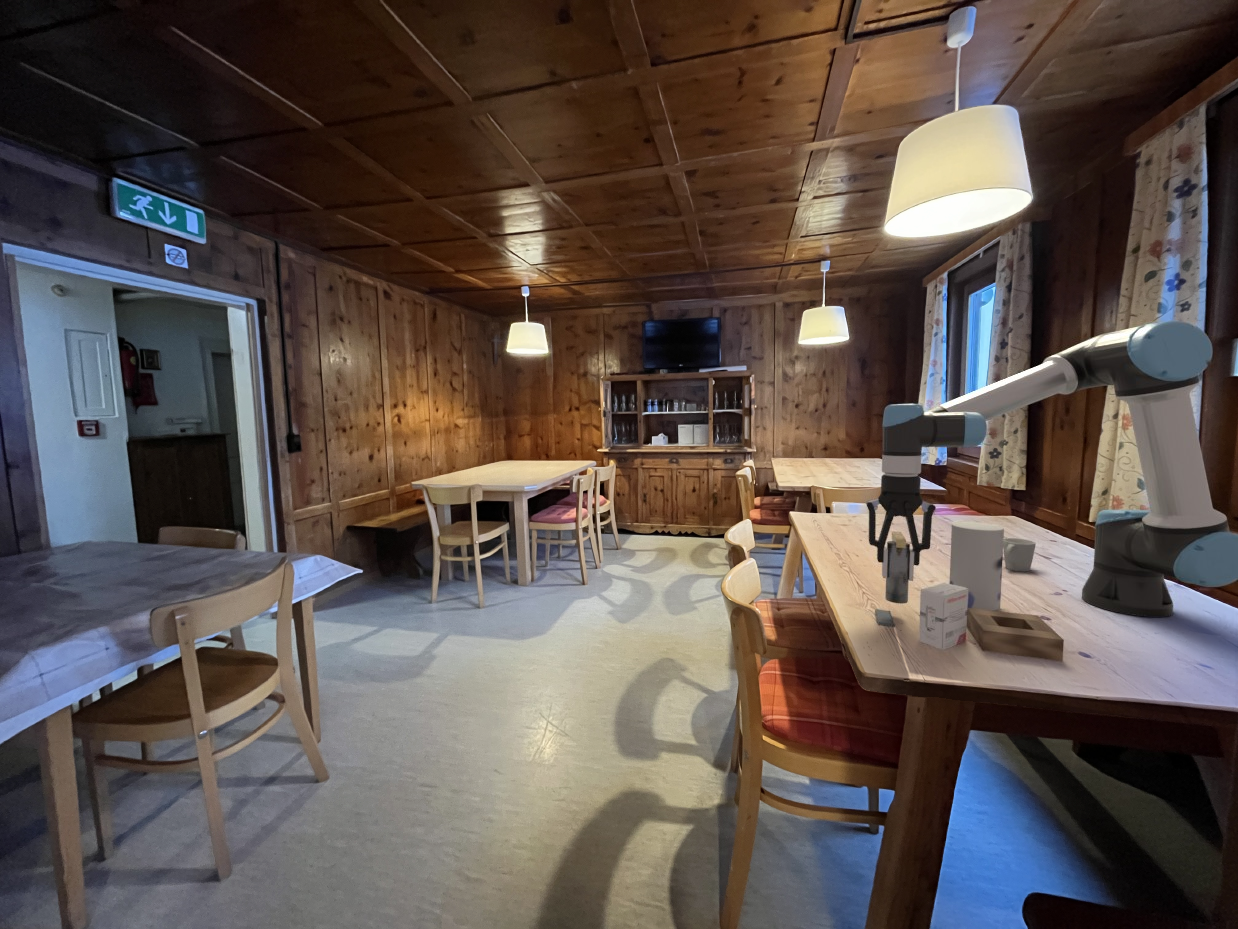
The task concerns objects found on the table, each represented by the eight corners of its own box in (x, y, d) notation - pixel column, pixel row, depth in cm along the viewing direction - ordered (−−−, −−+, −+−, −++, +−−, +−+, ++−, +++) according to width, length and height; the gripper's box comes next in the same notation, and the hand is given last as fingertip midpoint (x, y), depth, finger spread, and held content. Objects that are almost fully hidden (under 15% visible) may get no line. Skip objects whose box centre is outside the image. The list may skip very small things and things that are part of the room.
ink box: (942, 635, 103) (944, 580, 102) (967, 645, 99) (970, 587, 98) (917, 645, 99) (919, 588, 98) (942, 655, 95) (945, 595, 94)
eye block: (1036, 639, 100) (1037, 615, 100) (1062, 666, 89) (1063, 640, 89) (966, 630, 105) (967, 607, 105) (982, 655, 94) (983, 630, 94)
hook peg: (910, 607, 106) (913, 540, 105) (887, 604, 108) (889, 538, 106) (905, 595, 113) (907, 532, 112) (883, 593, 115) (885, 530, 114)
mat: (913, 616, 113) (914, 613, 113) (920, 630, 106) (920, 627, 106) (874, 611, 116) (875, 609, 116) (878, 624, 109) (878, 622, 109)
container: (1009, 616, 112) (1013, 530, 110) (960, 613, 114) (963, 529, 112) (986, 600, 122) (989, 521, 120) (941, 598, 124) (944, 520, 122)
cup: (1039, 570, 144) (1041, 542, 143) (1021, 575, 140) (1022, 546, 139) (1009, 564, 151) (1011, 536, 150) (991, 568, 147) (992, 540, 146)
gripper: (943, 473, 108) (939, 577, 110) (855, 471, 115) (853, 569, 117) (951, 477, 101) (946, 587, 103) (857, 475, 108) (855, 578, 110)
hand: (897, 577), depth 110 cm, fingers closed on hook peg, 4 cm apart
